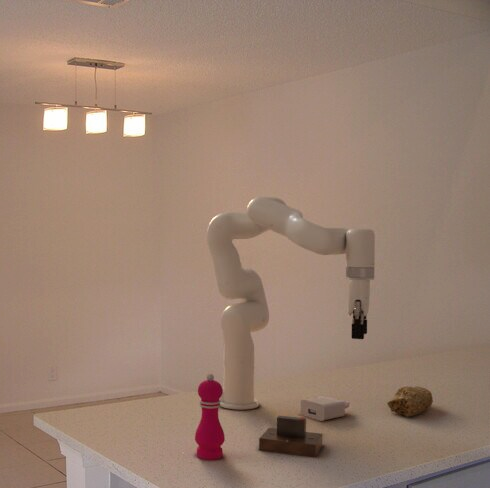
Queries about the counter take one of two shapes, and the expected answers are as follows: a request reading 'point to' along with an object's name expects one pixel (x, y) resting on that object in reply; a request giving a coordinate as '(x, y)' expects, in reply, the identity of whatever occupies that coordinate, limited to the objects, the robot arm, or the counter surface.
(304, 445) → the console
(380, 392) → the counter surface
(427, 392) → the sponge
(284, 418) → the dark bar red tip
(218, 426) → the pepper mill
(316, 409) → the charger
